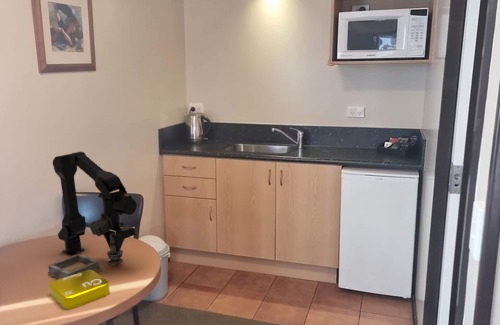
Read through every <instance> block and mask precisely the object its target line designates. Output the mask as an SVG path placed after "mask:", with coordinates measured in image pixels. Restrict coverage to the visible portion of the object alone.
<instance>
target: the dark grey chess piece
mask: <svg viewBox="0 0 500 325" xmlns="http://www.w3.org/2000/svg"><path fill="white" fill-rule="evenodd" d="M115 233H116V232H115ZM115 233H114V231H113V233H112V234H110V243H109V244H110V248H109V250H108V251H107V253H106V255H107V257H108V259H109V260H108V264H109V265H112V266H113V265H119V264H121V263H123V262H124V259H123V258H122V256H123V253H124V251H123V250H122V249H120V251H118V252H117V251H116V246H115V240H114V239H113V238H112V237H111V236H113V235H115Z"/></svg>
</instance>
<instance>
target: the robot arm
mask: <svg viewBox="0 0 500 325" xmlns="http://www.w3.org/2000/svg"><path fill="white" fill-rule="evenodd" d="M52 166H53V170H54V173H55V175H57V177H59V179H60V185H61V193H62V198H63V204H64V206H63V207H64V216H63V218H62V221H61V226H62V227H61V229H60V230H59V232H58V233H57V236H58V237H57V238H58V239H59V240H61V241H64V249H62V250H61V252H62V253H63V254H66V255H68V256H74V255H77V254H80V253H81V252H84V251H85V250H86V249H85V248H82V242H81V236H84V235H85V232H86V228H87V222H86V217H85V216H84V215H82V214H81V213H80V211H79V205H78V198H77V188H76V180H75V175H76V173H77V171H78V168H79V169H80V170H82V171H83V172H84V173H85V174H86V175H87V176H88V177H89V178H91V179H92V180H93V182H94V187H95V188H97V189H98V191H99V192H100V193H99V194H98V198H99V199H102V211H103V212H102V213H100V218H99V219H97V220H94V221H92V222H91V224H90V225H89V229H90V231H91V234H92V235H95V236H97V237H101V236H103V237H104V239H105V241H106V243H107V245H108V248H109V249H110V244H109V243H110V234H112V233H113V231H114V233H115V235H113V236H111V237H112V238H113V239H114V240H115V246H116V251H117V252H118V251H120V250H122V249H121V248H122V247H123V246H122V245H123V244H124V242H125V239H128V238H131V237H132V236H135V235H136V234H137V233H136V232H137V231H136V228H135V227H134V226H131V225H130V226H129V225H125V226H123V225H124V222H123V221H121V216H122V215H123V214H124V215H133V214H134V213H135V212H136V210H137V206H138V204H137V202H136V200H135V199H133V198H132V195H130V194H128V191H127V189H126V187H125V186H124V184H123V182H122V181H121V178H120V177H119V176H118V175H117V174H115V173H113V172H110V171H107V170H104V169H103V168H101V167H100V166H99V165H98V164H97V163H96V162H94V161H93V160H92V159H91V158H90V157H89V156H87V154H86V153H85V152H84V151H75V152H71V153H68V154H67V153H66V154H63V155H62V154H61V155H58V156H57V155H56V156H54V158H53V160H52ZM121 226H122V227H121Z"/></svg>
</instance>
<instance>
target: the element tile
mask: <svg viewBox="0 0 500 325" xmlns="http://www.w3.org/2000/svg"><path fill="white" fill-rule="evenodd" d="M109 283H110V282H109V280H107V279H106V278H105V277H103V276H101V275H100V274H99V273H96V272H95V271H93V270H86V271H83V272H80V273H77V274H73V275H70V276H67V277H64V278H61V279H58V280H57V279H55V280H52V281H50V282H49V283H48V288H49V289H48V290H49V296H50V298H52V300H54V301H55V302H56V303H57V304H58V305H59V306H60V307H61V308H62V309H64V310H73V309H75V308H77V307H80V306H83V305H85V304H86V305H87V304H89V303H91V302H94V301H97V300H99V299H101V298H104V297H107V296H108V295H110V293H111V292H110V286H109V285H110V284H109Z"/></svg>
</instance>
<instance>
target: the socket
mask: <svg viewBox="0 0 500 325" xmlns="http://www.w3.org/2000/svg"><path fill="white" fill-rule="evenodd" d="M86 270H93V271H95V272H96V273H97V274H99V273H101V272H102V267H101V262H100V260H97V259H94V258H91V257H89V256H86V255H85V254H84V255H83V254H81V253H76V254H74V255H71V256H69V257H67V258H65V259H62V260H60V261H57V262H54V263H51V264H49V265H48V271H47V275H48V276H50V277H51V278H53V279H55V280H58V279H61V278H64V277H67V276H70V275H73V274H77V273H80V272H83V271H86Z"/></svg>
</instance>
